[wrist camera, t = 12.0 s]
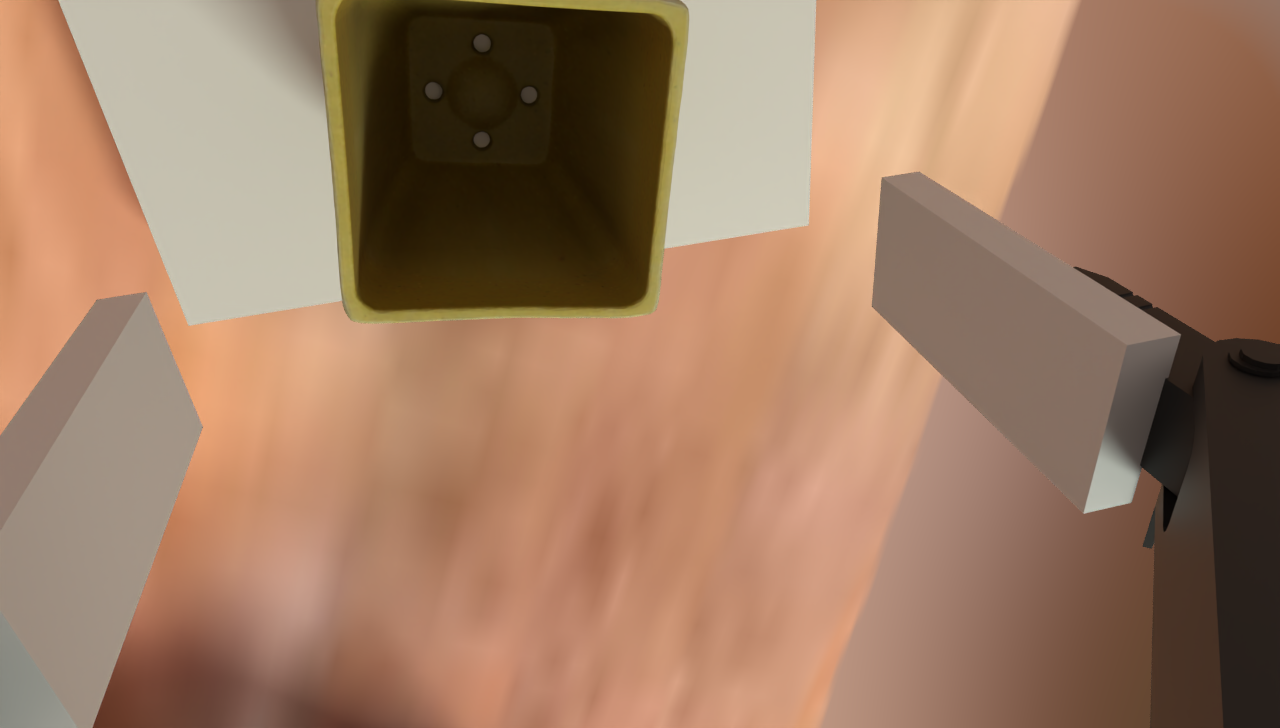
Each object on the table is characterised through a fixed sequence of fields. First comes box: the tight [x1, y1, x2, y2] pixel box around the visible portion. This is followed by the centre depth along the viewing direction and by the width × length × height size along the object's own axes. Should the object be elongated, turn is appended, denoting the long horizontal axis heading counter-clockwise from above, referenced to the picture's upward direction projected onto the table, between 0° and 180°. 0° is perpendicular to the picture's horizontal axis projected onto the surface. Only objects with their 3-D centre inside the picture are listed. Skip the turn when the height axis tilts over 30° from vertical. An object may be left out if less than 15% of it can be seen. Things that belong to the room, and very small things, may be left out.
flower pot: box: [315, 0, 689, 324], centre depth 26 cm, size 9×9×9 cm
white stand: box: [58, 0, 816, 326], centre depth 31 cm, size 14×24×4 cm, turn 94°
